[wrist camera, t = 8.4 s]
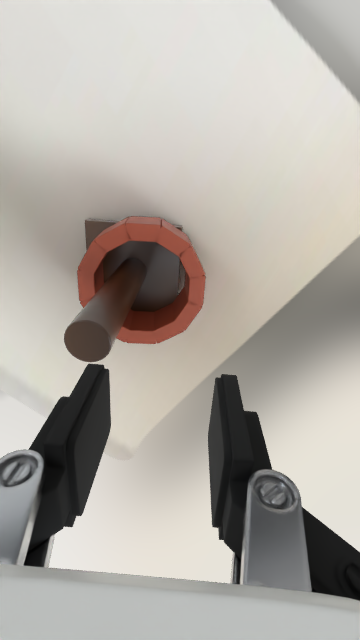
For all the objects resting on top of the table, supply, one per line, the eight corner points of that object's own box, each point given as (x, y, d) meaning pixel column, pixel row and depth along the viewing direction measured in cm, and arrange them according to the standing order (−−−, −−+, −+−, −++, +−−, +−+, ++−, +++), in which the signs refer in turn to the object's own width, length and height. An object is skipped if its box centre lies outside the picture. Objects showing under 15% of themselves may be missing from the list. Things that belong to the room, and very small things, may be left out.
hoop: (92, 321, 29) (82, 342, 26) (85, 213, 25) (73, 219, 22) (194, 324, 30) (199, 345, 26) (203, 220, 26) (210, 227, 22)
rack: (92, 306, 30) (19, 400, 18) (88, 218, 27) (-6, 257, 14) (176, 312, 30) (163, 411, 18) (182, 225, 27) (171, 270, 14)
